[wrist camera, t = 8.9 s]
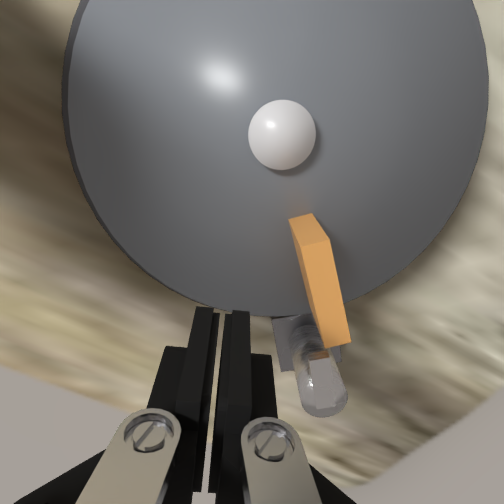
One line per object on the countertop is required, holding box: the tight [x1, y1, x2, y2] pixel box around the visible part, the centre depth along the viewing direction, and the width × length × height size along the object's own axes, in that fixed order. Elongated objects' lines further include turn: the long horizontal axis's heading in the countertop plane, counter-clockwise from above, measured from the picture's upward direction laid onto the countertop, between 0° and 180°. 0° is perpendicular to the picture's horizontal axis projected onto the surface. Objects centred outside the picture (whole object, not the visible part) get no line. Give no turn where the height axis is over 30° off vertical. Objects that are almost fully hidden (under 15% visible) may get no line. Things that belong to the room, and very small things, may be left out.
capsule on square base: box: [271, 312, 348, 417], centre depth 23 cm, size 5×4×6 cm
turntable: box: [68, 0, 489, 349], centre depth 17 cm, size 19×19×6 cm
